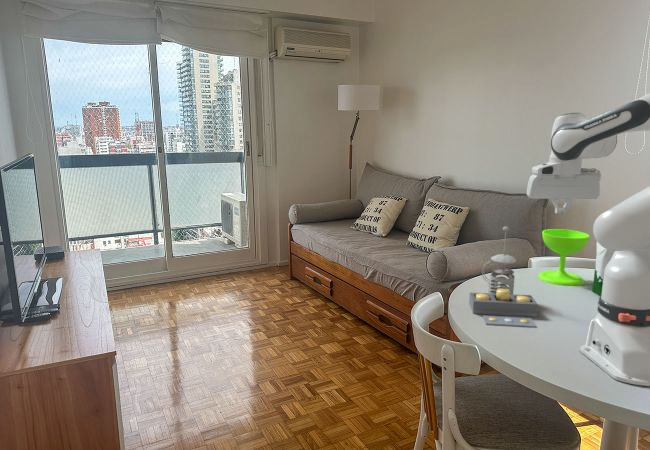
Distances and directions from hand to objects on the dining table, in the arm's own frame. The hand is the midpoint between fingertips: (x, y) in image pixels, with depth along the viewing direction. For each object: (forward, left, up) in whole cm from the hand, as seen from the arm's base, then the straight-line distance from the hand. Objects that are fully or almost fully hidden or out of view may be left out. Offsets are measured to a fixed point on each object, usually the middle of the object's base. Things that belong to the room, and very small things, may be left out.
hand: (560, 213), depth 140 cm
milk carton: (+15, -23, -31) cm, 42 cm away
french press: (+7, +15, -31) cm, 35 cm away
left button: (-5, +22, -29) cm, 37 cm away
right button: (-5, +10, -29) cm, 32 cm away
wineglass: (+31, -13, -31) cm, 46 cm away
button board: (-9, +16, -31) cm, 36 cm away
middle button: (-5, +16, -28) cm, 32 cm away
